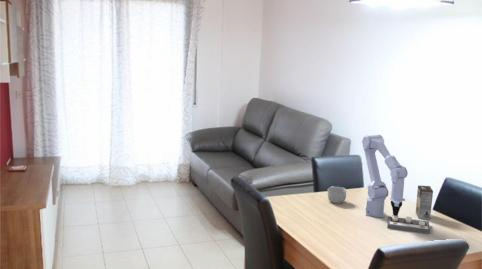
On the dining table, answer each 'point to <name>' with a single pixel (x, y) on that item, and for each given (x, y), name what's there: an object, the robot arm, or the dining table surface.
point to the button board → (408, 225)
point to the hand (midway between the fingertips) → (395, 215)
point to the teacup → (336, 194)
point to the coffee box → (424, 202)
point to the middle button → (408, 220)
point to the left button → (394, 218)
